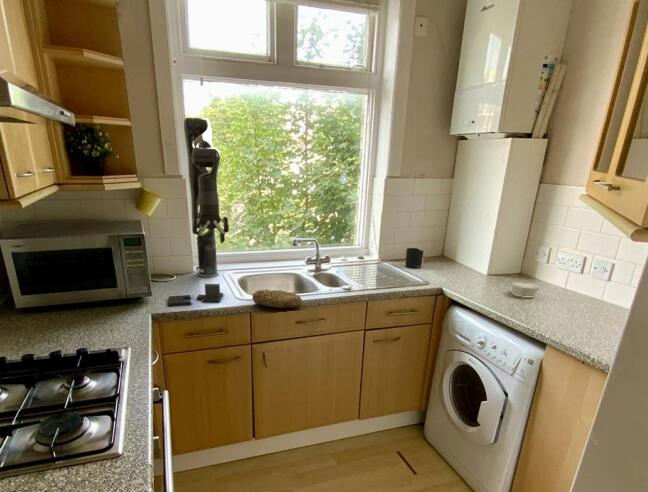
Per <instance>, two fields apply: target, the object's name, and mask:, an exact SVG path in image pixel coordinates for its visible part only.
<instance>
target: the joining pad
mask: <svg viewBox="0 0 648 492" xmlns="http://www.w3.org/2000/svg"><path fill="white" fill-rule="evenodd" d="M220 284H221V283H204V293H205V294H198V295H197V297H196V300H197V301H202V303H216V304H217V303H220V302H221V300H222V298H223V296H224V293H223V292H221V286H220Z"/></svg>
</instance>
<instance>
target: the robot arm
mask: <svg viewBox="0 0 648 492" xmlns="http://www.w3.org/2000/svg"><path fill="white" fill-rule="evenodd" d="M211 127H212V126H211V122H210V120H209V119H208V118H205V117H185V118H184V121H183V131H184V139H185V145H186V153H187V166H188V167H187V168H188V179H189V180H188V181H189V189H190V200H191V202H190V203H191V222H192V223H191V225H192V226H191V227H192V228H191V230H192V231H191V232H192V234H193V235H196V250H197V261H198V266H196V267H195V269H196V270H198V275H199V277H201V278H214V277H216V276H218V274H219V273H218V258H217V245H216V244H217V243H216V230H217V231H218V232H219V242H220V244H224V242H225V241H226V237H225V234H226V233H228V232H229V231H230V229H229V227H230V226H229V219H228V217H227V216H224V215H223V217H221V216H220V200H219V199H220V198H219V192H218V172H219V166H220V164H221V153H220V150H219V149H217V148H216V147H213V144H212V128H211ZM209 168H210V169H209ZM221 222H222V225H223V228H222V226H221V224H220V223H221ZM206 230H207V231H206Z"/></svg>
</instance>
